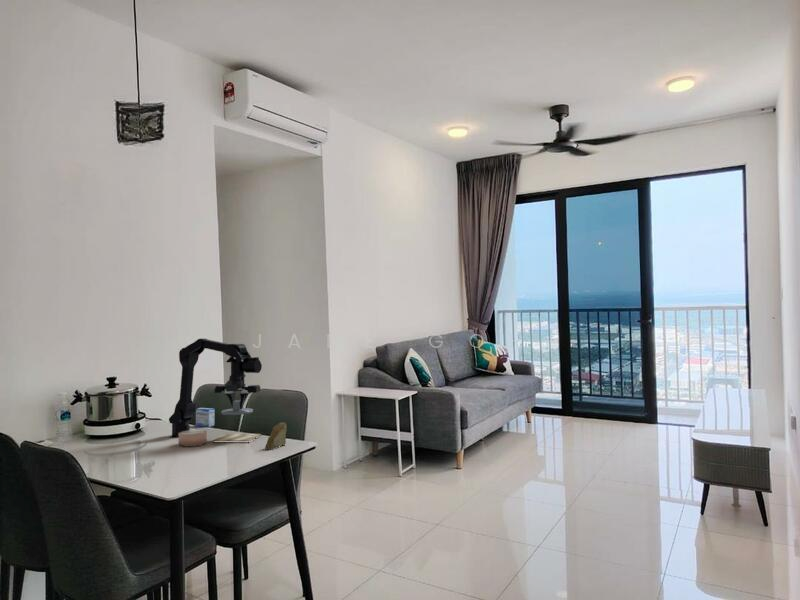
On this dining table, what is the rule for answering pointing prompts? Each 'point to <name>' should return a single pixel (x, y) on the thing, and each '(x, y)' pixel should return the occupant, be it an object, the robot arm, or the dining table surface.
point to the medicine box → (205, 417)
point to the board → (236, 437)
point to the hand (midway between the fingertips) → (237, 408)
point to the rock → (277, 436)
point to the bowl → (192, 437)
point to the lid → (237, 409)
